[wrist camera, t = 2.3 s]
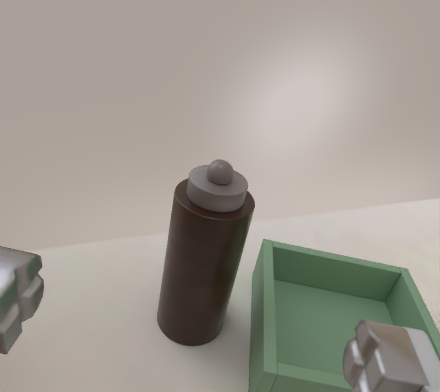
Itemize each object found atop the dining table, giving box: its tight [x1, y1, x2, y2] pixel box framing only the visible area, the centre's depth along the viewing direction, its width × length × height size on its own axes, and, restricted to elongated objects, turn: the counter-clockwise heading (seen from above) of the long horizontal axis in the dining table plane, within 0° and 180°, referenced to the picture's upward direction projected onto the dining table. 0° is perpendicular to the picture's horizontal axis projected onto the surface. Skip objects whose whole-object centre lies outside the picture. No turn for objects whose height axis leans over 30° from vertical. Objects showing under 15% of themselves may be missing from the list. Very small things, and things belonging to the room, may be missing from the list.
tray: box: [249, 239, 440, 392], centre depth 28 cm, size 13×13×4 cm
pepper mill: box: [157, 160, 255, 345], centre depth 26 cm, size 5×5×13 cm
